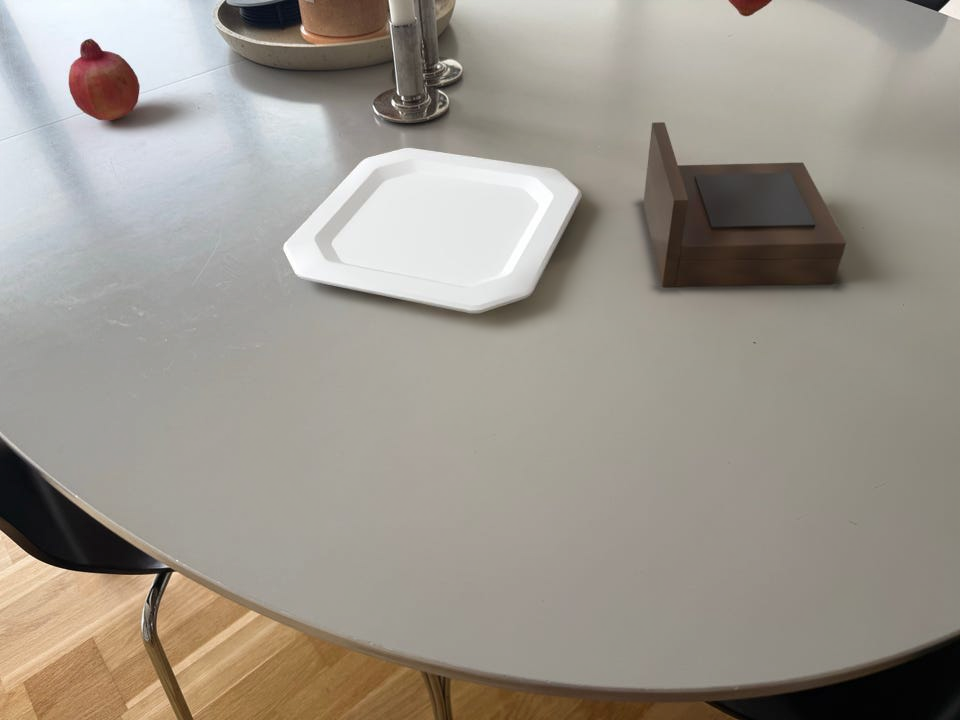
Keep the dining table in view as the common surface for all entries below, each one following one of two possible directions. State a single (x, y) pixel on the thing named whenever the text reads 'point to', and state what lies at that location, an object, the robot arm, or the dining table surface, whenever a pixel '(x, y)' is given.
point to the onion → (749, 6)
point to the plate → (437, 229)
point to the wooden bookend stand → (737, 222)
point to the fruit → (103, 83)
